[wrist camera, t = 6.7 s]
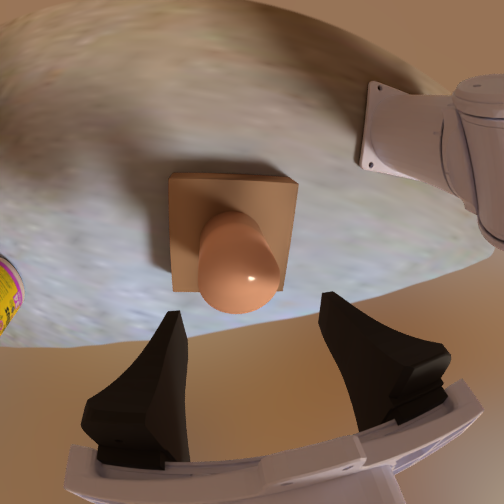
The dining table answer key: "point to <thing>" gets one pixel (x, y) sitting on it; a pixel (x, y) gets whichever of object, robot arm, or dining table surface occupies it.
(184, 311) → the dining table surface
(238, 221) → the tan rounded cylinder
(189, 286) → the walnut board
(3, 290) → the supplement bottle
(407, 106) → the robot arm
